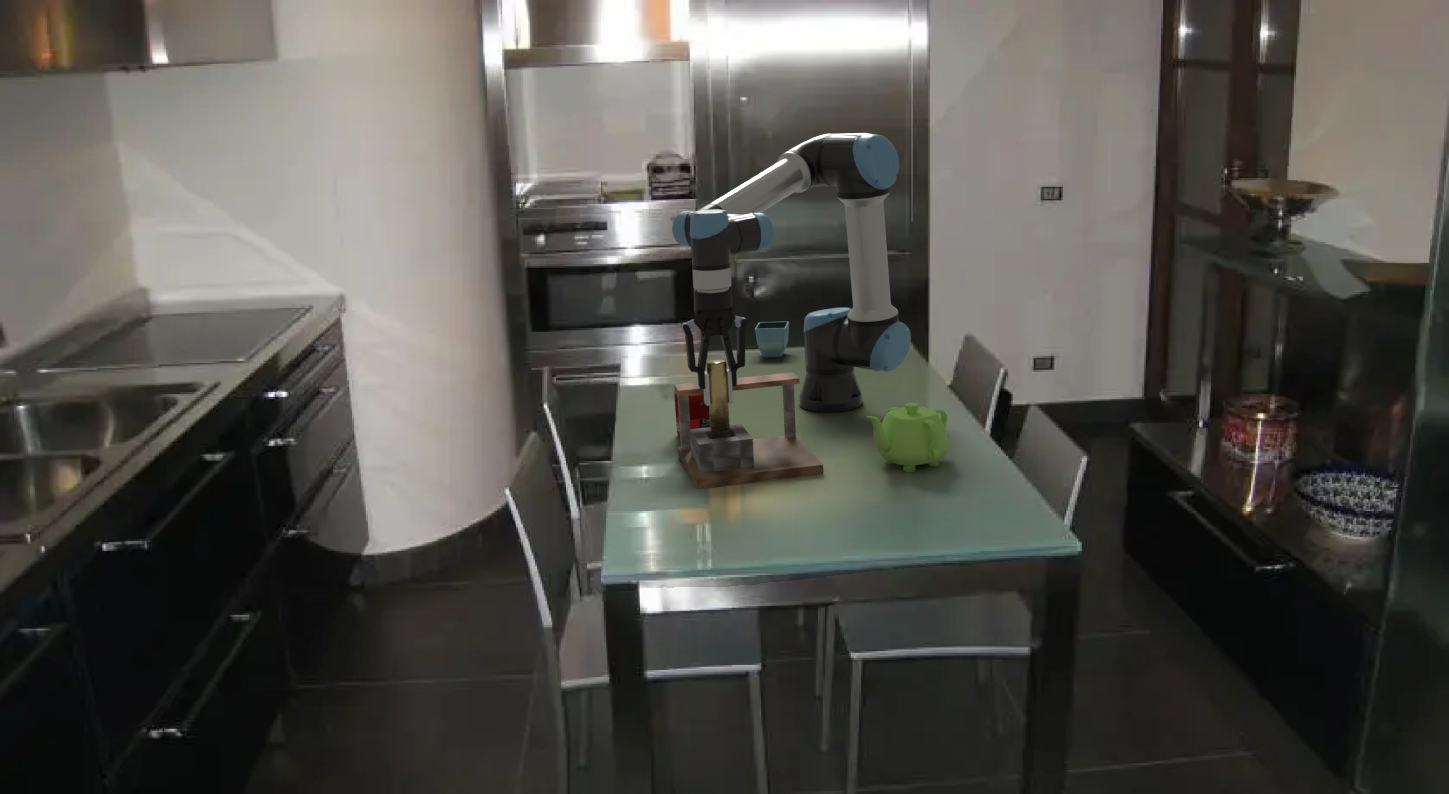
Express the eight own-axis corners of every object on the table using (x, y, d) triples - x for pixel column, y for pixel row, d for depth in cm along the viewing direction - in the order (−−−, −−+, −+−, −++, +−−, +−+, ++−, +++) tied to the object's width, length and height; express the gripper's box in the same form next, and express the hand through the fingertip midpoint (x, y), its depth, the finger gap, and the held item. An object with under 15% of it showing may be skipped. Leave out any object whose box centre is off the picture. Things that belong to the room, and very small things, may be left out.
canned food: (708, 440, 275) (705, 393, 272) (673, 440, 276) (670, 392, 274) (715, 430, 282) (712, 383, 279) (681, 429, 284) (678, 383, 281)
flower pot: (755, 359, 346) (754, 328, 343) (760, 352, 354) (758, 321, 352) (786, 359, 344) (785, 328, 342) (790, 351, 352) (789, 321, 350)
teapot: (936, 480, 242) (936, 419, 239) (866, 474, 248) (865, 413, 244) (955, 455, 256) (955, 396, 253) (889, 449, 262) (888, 392, 258)
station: (795, 442, 270) (792, 372, 265) (823, 474, 249) (821, 397, 245) (678, 456, 265) (674, 384, 261) (697, 488, 244) (692, 411, 240)
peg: (727, 425, 254) (724, 359, 250) (731, 430, 250) (728, 363, 246) (708, 427, 253) (704, 361, 249) (712, 432, 249) (708, 365, 245)
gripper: (750, 282, 249) (755, 393, 255) (667, 289, 246) (674, 402, 252) (758, 288, 242) (763, 403, 248) (673, 295, 239) (680, 411, 245)
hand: (718, 402), depth 250 cm, fingers closed on peg, 4 cm apart
